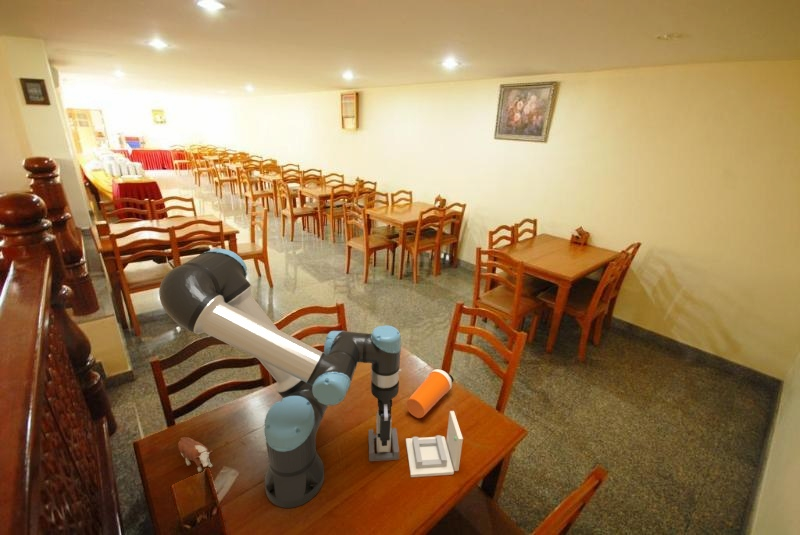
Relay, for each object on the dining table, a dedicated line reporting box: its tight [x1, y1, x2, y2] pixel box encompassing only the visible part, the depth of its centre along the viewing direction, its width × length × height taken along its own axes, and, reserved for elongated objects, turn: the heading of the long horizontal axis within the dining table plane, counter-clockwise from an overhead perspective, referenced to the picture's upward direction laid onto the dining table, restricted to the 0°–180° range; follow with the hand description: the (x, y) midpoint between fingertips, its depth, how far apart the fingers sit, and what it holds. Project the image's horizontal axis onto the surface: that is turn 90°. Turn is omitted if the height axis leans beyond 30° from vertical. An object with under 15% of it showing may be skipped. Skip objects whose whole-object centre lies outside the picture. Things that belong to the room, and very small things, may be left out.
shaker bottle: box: [405, 368, 454, 419], centre depth 121 cm, size 9×9×20 cm
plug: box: [375, 411, 392, 454], centre depth 102 cm, size 4×4×14 cm
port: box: [405, 410, 464, 478], centre depth 100 cm, size 14×12×12 cm
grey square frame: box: [368, 427, 400, 462], centre depth 104 cm, size 8×8×3 cm
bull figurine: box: [177, 436, 214, 473], centre depth 95 cm, size 4×13×8 cm, turn 58°
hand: (383, 443), depth 104 cm, fingers closed on plug, 4 cm apart
